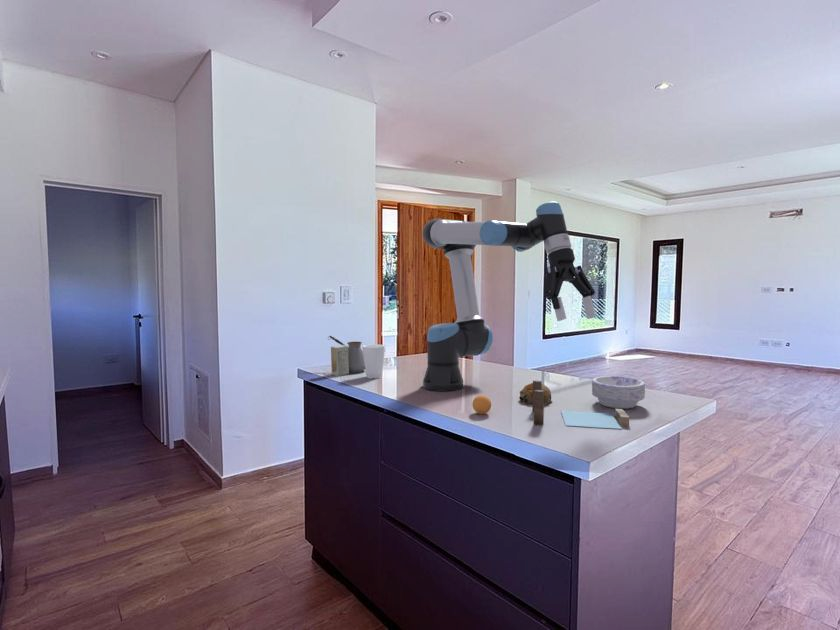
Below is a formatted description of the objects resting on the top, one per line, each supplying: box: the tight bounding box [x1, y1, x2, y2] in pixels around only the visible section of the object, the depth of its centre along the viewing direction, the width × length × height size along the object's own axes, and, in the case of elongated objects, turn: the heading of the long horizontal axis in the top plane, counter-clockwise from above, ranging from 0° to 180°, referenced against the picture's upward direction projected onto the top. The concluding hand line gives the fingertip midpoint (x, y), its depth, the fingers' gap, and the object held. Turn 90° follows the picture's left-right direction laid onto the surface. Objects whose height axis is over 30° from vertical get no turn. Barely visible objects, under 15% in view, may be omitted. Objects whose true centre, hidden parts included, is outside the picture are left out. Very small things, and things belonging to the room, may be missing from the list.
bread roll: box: [519, 382, 553, 405], centre depth 145 cm, size 10×10×8 cm
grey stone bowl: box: [591, 375, 646, 410], centre depth 140 cm, size 15×15×8 cm
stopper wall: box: [614, 408, 630, 427], centre depth 123 cm, size 8×2×2 cm, turn 167°
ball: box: [471, 394, 492, 415], centre depth 131 cm, size 6×6×6 cm
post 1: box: [532, 379, 543, 412], centre depth 134 cm, size 3×3×9 cm
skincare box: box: [330, 344, 350, 377], centre depth 190 cm, size 6×4×12 cm
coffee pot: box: [327, 335, 366, 374], centre depth 200 cm, size 21×12×15 cm, turn 57°
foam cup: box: [361, 343, 386, 379], centre depth 184 cm, size 10×9×13 cm
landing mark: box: [560, 410, 622, 430], centre depth 125 cm, size 14×14×1 cm
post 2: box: [533, 390, 545, 426], centre depth 122 cm, size 3×3×9 cm
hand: (577, 319), depth 131 cm, fingers open, 13 cm apart
